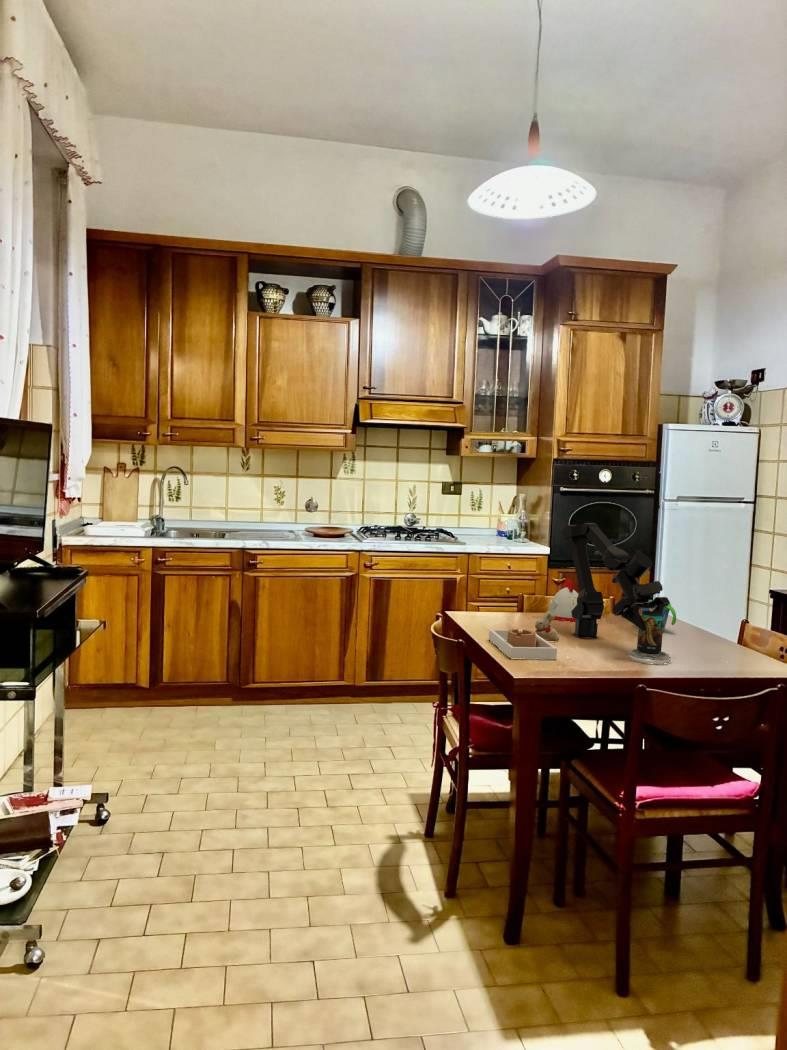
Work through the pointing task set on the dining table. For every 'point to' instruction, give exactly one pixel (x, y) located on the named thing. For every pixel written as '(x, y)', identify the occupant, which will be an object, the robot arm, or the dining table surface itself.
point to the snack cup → (666, 614)
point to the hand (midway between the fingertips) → (654, 629)
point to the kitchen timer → (564, 603)
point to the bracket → (521, 638)
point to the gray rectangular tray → (540, 651)
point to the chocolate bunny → (546, 628)
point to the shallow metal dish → (648, 657)
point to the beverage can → (651, 633)
